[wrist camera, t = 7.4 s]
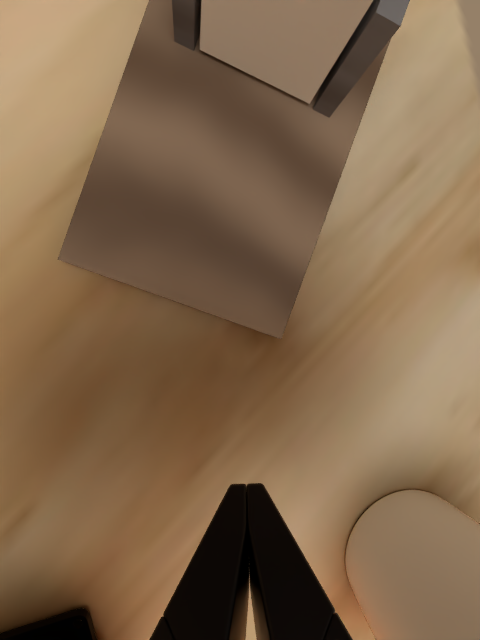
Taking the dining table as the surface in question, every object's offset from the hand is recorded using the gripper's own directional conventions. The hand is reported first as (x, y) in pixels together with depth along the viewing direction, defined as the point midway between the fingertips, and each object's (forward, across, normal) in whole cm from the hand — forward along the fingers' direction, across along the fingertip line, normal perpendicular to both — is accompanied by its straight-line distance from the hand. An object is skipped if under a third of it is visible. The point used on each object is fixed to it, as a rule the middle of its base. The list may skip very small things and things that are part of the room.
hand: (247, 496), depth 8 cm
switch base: (+13, 0, -11) cm, 17 cm away
